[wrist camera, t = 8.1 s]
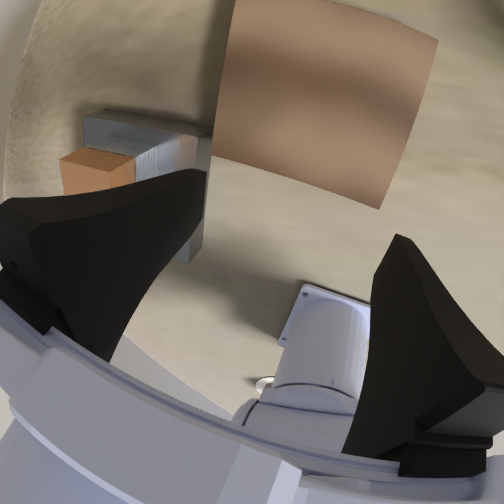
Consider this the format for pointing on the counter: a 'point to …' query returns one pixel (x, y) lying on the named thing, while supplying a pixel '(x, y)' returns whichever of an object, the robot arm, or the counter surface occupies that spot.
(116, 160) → the block
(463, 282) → the counter surface
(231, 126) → the stand
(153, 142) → the stand
